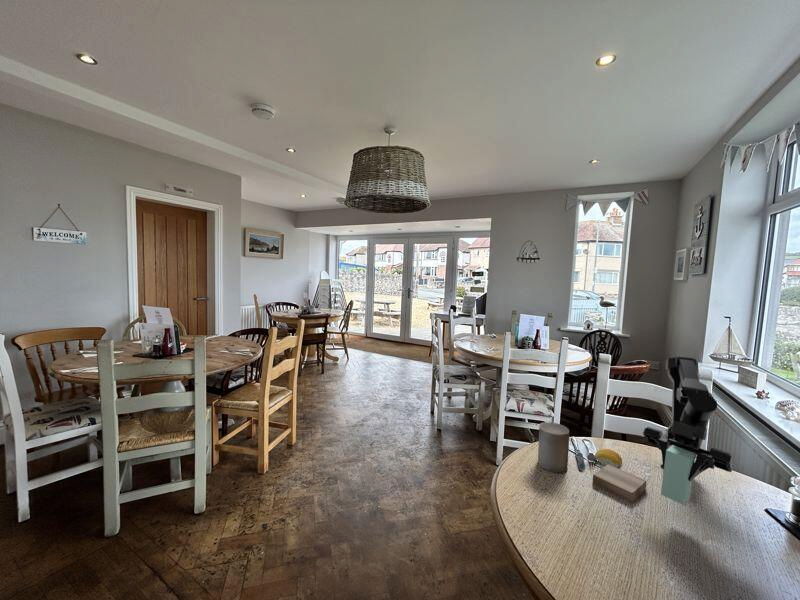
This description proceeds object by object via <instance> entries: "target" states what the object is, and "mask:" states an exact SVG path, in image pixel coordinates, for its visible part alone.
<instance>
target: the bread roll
mask: <svg viewBox="0 0 800 600" xmlns="http://www.w3.org/2000/svg"><path fill="white" fill-rule="evenodd" d="M595 457H596V459H597V460H598V461H599V462H600V463H602V464H601V465H603V466H604V467H605V466H606V465H608V464H609V465H612V466H614V467H616V468H619V467H620V466H621V464H622V462H623V458H622V457H621V455H620V454H619V453H618V452H616V451H615V450H612V449H609V448H602V449H599V450H597V451H596V452H595V453H594V458H595ZM596 459H595V460H596ZM599 462H598V463H599ZM600 463H599V464H600Z"/></svg>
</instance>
